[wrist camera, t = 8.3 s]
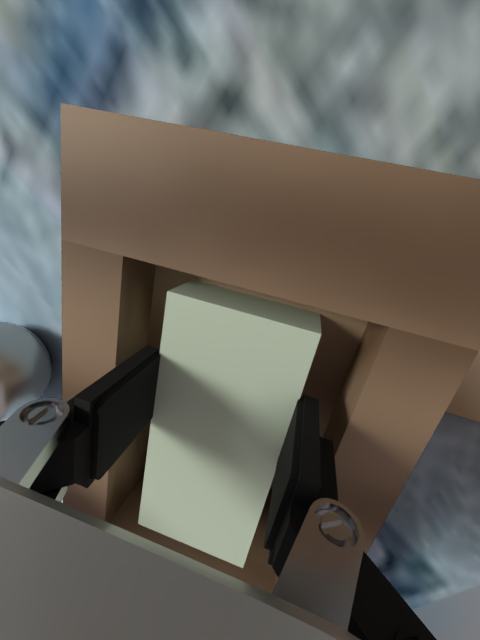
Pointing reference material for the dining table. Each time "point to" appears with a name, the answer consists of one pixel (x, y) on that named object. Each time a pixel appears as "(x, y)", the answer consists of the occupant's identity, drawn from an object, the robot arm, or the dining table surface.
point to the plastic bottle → (21, 368)
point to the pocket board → (271, 289)
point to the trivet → (468, 394)
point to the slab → (222, 413)
